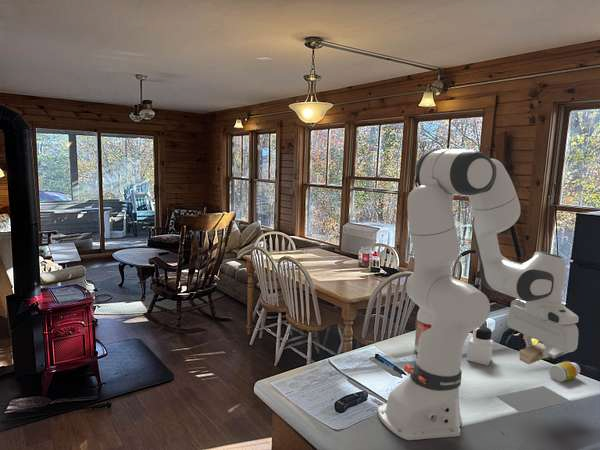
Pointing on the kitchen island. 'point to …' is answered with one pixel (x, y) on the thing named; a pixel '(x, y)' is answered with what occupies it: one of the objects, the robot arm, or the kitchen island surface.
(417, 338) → the fruit juice
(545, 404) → the mat
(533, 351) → the putty knife
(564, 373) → the supplement bottle
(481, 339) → the medicine bottle
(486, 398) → the kitchen island surface
